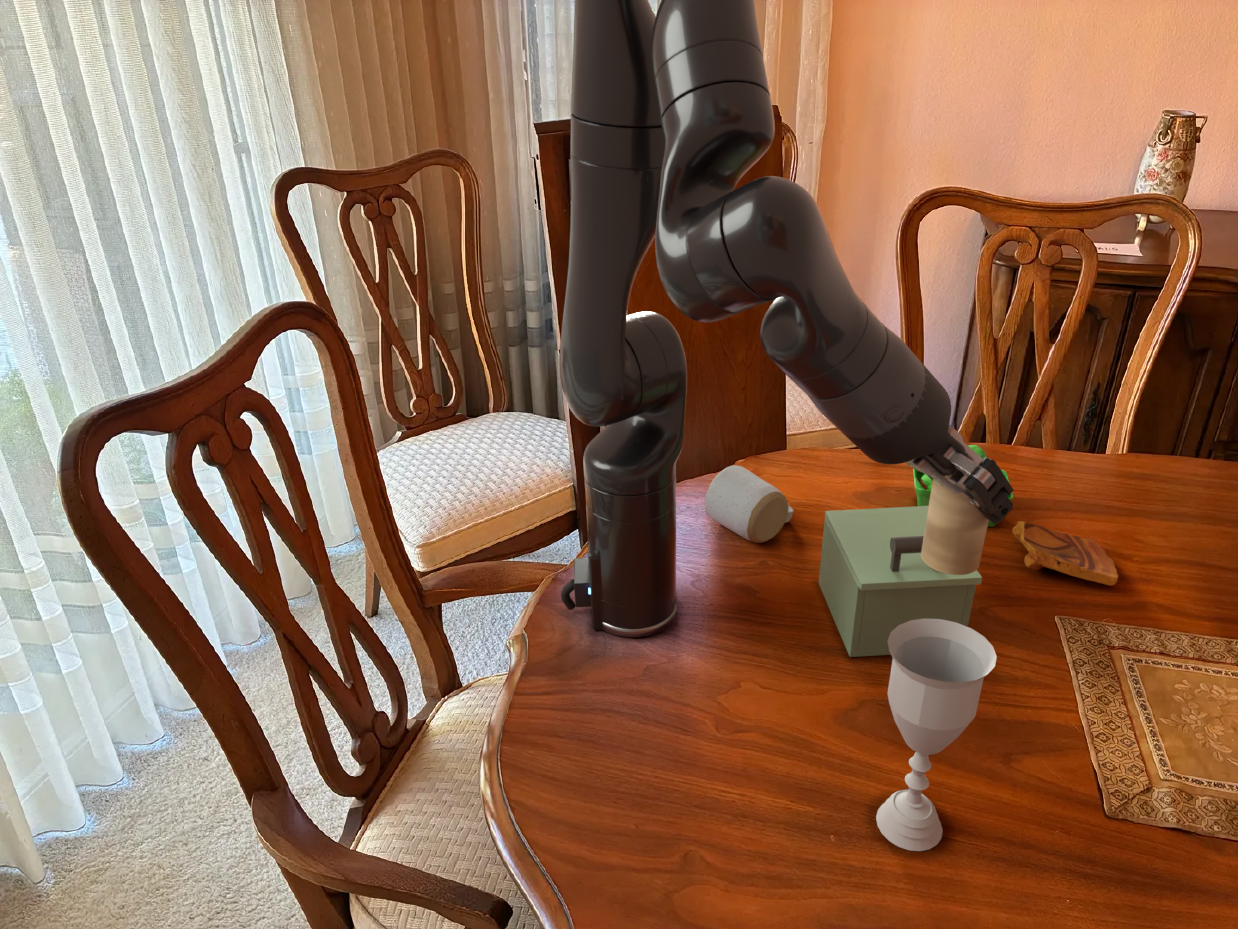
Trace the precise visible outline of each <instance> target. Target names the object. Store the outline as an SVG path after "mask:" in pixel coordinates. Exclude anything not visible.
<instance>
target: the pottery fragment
mask: <svg viewBox="0 0 1238 929" xmlns="http://www.w3.org/2000/svg"><path fill="white" fill-rule="evenodd" d="M1011 532H1012V534H1013V535H1014V537H1015V538H1016V539H1017V540H1018V541H1019V542H1020V543H1021V544H1022V545H1023V546H1024V548H1025V549H1026V551H1027V552H1028V553H1027V554H1026V555H1025V556H1024V559H1023V561H1024V564H1025V565H1024V566H1025V567H1026V568H1028V569H1031V570H1034V571H1038V570H1041V569H1044V568H1047V569H1050V570H1053V571H1056V572H1059V573H1062V574H1065V575H1067V576H1071V577H1075V578H1078V579H1082V580H1086V581H1089V582H1095V583H1098V584H1102V585H1106V586H1114V585H1116V584H1117V583H1118V579H1119V574H1118V570H1117V568H1116V565H1115V561H1114V559H1112V558H1110V557H1109V556H1108V554H1107V552H1106V550H1105V549H1104V548H1102V547H1101V546H1100V545H1099V544H1098V543H1097V542H1096V540H1095V539H1094V538H1093V537H1088V538H1087V537H1082V536H1077V535H1074V534H1069V533H1065V532H1061V531H1057V530H1054V529H1050V528H1047V527H1044V526H1040V525H1037V524H1034V523H1031V522H1028V521H1025V520H1024V521H1023V520H1019V521H1017V522H1016V525H1014V526H1013V528H1012V529H1011Z"/></svg>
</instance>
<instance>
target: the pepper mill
mask: <svg viewBox="0 0 1238 929" xmlns="http://www.w3.org/2000/svg"><path fill="white" fill-rule="evenodd" d="M957 470H958V469H956V470H955V471H954V473H955V472H956V471H957ZM954 473H952V474H951V475H948V476H944V477H945V478H947V479H949V478H951V477H952V475H953V474H954ZM988 521H989V520H988V519H987V518H986V517H985V516H984V515H983V514H982V513H981V512H980V511H979V510H978V509H977V508H976V507H975V506H972V505H971V504H970V503H969V501H968V500H967V499H966V498H965V497H964V496H963V495H961V494H960V493H959V494H954V493H952V492H950V491H948V490H946V489H945V488H944V487H942V486H941V485H940V484H939V483H938V482H937V481H936V480H934V479H933V482H932V488H931V494H930V500H929V506H928V513H927V519H926V525H925V531H924V537H923V543H922V550H921V558H922V560H923V561H924V563H925V564H926V565H928V566H929V567H931V568H932V569H934V570H936V571H939V572H942V573H946V574H952V575H965V574H969V573H972V572H974V571H976V570H977V571H978V569H979V568H980V565H981V561H982V555H983V552H984V546H985V540H986V536H987V531H988Z"/></svg>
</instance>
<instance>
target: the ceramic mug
mask: <svg viewBox="0 0 1238 929" xmlns="http://www.w3.org/2000/svg"><path fill="white" fill-rule="evenodd" d="M704 509H705V512H706V514H707V516H708V517H709V518H710V519H711V520H713V521H714V522H716V523H718V524H720V525H721V526H723V527H725V528H726V529H728V530H730V531H732V532H734V533H735V534H736V535H738V536H740V537H741V538H743V539H745V540H747V541H749V542H752V543H756V544H761V543H765V542H767V541H770V540H771V539H773V538H774V537H775V536H776V535H777V534H778V533H779V532H780V531H781V530H782V528H783V527H784V525H785V524H786V523H790V521H791V520H792V517H793V514H794V509H793V508H792V507H791V506H790V505H789V503H788V499H787V497H786V495H785V494H784V493H783V492H782V491H780V490H779V489H778V488H777V487H775V486H774V485H773V484H771V483H769V482H767V481H765V480H764V479H762V478H761V477H760V476H758V475H756V474H755V473H753V472H752V471H750V470H748V469H747V468H745V467H743V466H742V465H735V464H733V465H730V466H727V467H725V468H724V469H722V470H721V471H720V472H718V473H717V474H716V475H715V477H714V478H713V479H712V481H711V482H710V484H709V485H708V488H707V491H706V494H705V498H704Z"/></svg>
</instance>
